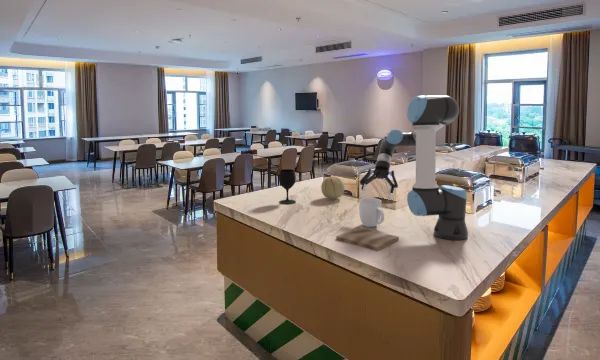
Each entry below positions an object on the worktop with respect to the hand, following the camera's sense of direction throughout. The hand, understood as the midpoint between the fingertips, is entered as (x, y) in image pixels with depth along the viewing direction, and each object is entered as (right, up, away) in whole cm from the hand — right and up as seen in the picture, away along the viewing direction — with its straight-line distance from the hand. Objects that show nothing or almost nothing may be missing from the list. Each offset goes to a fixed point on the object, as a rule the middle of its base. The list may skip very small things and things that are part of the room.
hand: (375, 196), depth 220 cm
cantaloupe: (-18, -4, +50) cm, 53 cm away
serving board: (-8, -19, -26) cm, 33 cm away
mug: (-3, -15, -6) cm, 16 cm away
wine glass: (-47, -5, +42) cm, 63 cm away
